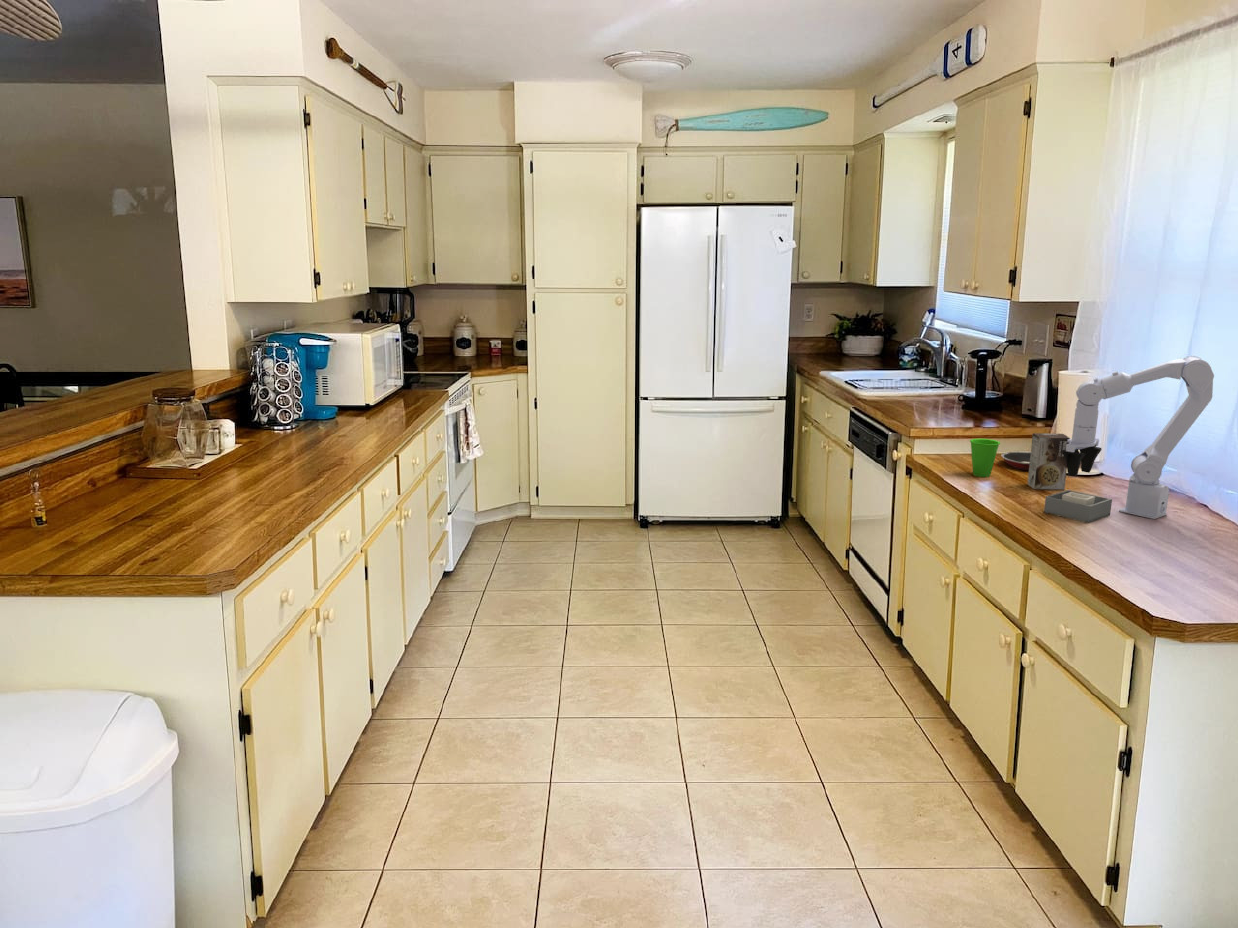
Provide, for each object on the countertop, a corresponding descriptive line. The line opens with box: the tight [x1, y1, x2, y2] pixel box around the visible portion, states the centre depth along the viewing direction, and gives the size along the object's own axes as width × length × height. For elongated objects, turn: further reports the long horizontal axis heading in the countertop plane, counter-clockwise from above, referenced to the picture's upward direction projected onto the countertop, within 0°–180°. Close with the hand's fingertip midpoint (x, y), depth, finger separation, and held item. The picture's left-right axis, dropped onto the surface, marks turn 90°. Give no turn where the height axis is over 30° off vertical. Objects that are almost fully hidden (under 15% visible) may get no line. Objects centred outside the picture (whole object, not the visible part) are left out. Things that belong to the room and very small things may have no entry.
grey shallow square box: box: [1043, 489, 1113, 524], centre depth 254 cm, size 12×12×4 cm
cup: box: [969, 438, 1001, 478], centre depth 295 cm, size 9×9×11 cm
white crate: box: [1062, 492, 1095, 506], centre depth 254 cm, size 6×5×4 cm
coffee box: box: [1027, 432, 1071, 491], centre depth 281 cm, size 9×6×16 cm
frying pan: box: [1000, 451, 1031, 472], centre depth 302 cm, size 19×32×4 cm, turn 176°
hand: (1079, 473), depth 260 cm, fingers open, 7 cm apart
